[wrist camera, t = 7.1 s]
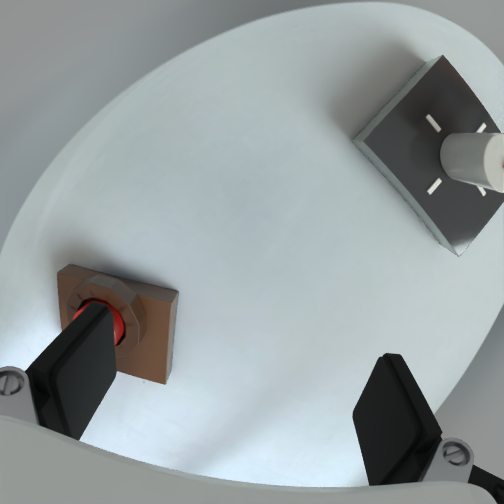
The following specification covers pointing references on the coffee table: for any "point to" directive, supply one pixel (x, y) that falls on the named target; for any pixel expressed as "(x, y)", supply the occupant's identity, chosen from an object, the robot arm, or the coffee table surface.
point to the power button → (117, 318)
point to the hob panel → (432, 152)
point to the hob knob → (475, 159)
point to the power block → (126, 318)
